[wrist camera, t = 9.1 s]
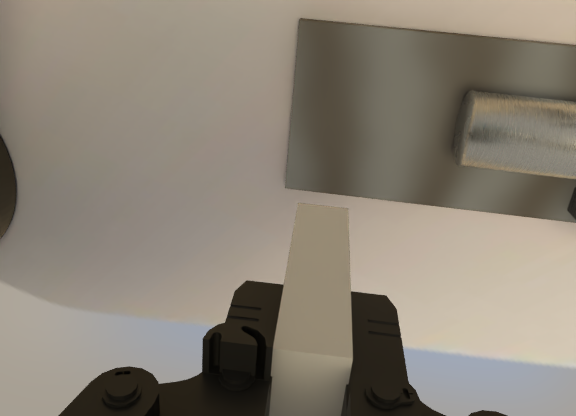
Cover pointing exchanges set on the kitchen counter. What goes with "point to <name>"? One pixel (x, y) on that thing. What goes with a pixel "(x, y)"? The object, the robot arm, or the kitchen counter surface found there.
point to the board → (415, 115)
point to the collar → (572, 205)
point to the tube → (516, 134)
